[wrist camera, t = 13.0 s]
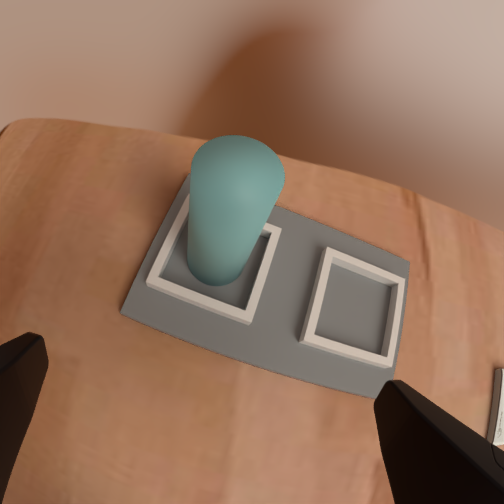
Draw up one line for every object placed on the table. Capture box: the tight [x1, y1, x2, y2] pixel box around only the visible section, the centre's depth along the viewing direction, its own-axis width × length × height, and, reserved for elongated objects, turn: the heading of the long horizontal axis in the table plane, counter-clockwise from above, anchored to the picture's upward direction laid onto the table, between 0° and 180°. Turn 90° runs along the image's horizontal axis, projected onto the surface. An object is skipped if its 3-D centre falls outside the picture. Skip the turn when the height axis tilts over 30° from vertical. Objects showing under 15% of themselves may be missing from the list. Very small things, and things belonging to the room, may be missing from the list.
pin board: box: [120, 173, 410, 399], centre depth 22 cm, size 20×12×2 cm, turn 72°
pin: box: [187, 135, 285, 286], centre depth 18 cm, size 4×4×10 cm
